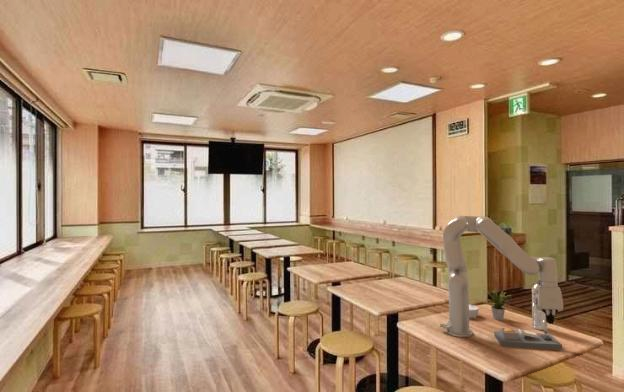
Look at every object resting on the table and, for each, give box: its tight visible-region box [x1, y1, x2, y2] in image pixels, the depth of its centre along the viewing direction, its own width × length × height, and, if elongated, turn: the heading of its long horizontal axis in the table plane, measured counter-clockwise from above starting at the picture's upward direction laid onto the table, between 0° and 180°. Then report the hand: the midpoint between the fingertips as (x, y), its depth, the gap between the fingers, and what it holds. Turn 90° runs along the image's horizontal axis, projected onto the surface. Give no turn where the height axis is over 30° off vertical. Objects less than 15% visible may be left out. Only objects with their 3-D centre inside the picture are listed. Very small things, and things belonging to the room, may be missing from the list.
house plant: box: [485, 289, 511, 321], centre depth 198 cm, size 14×14×16 cm
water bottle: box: [531, 283, 549, 331], centre depth 184 cm, size 7×7×25 cm
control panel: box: [493, 327, 563, 351], centre depth 167 cm, size 25×12×6 cm, turn 78°
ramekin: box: [469, 303, 480, 319], centre depth 205 cm, size 11×11×5 cm
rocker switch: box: [517, 328, 538, 338], centre depth 167 cm, size 7×4×1 cm, turn 78°
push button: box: [504, 327, 514, 333], centre depth 169 cm, size 4×4×3 cm
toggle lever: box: [542, 320, 549, 336], centre depth 165 cm, size 2×2×8 cm
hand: (550, 322), depth 165 cm, fingers closed
